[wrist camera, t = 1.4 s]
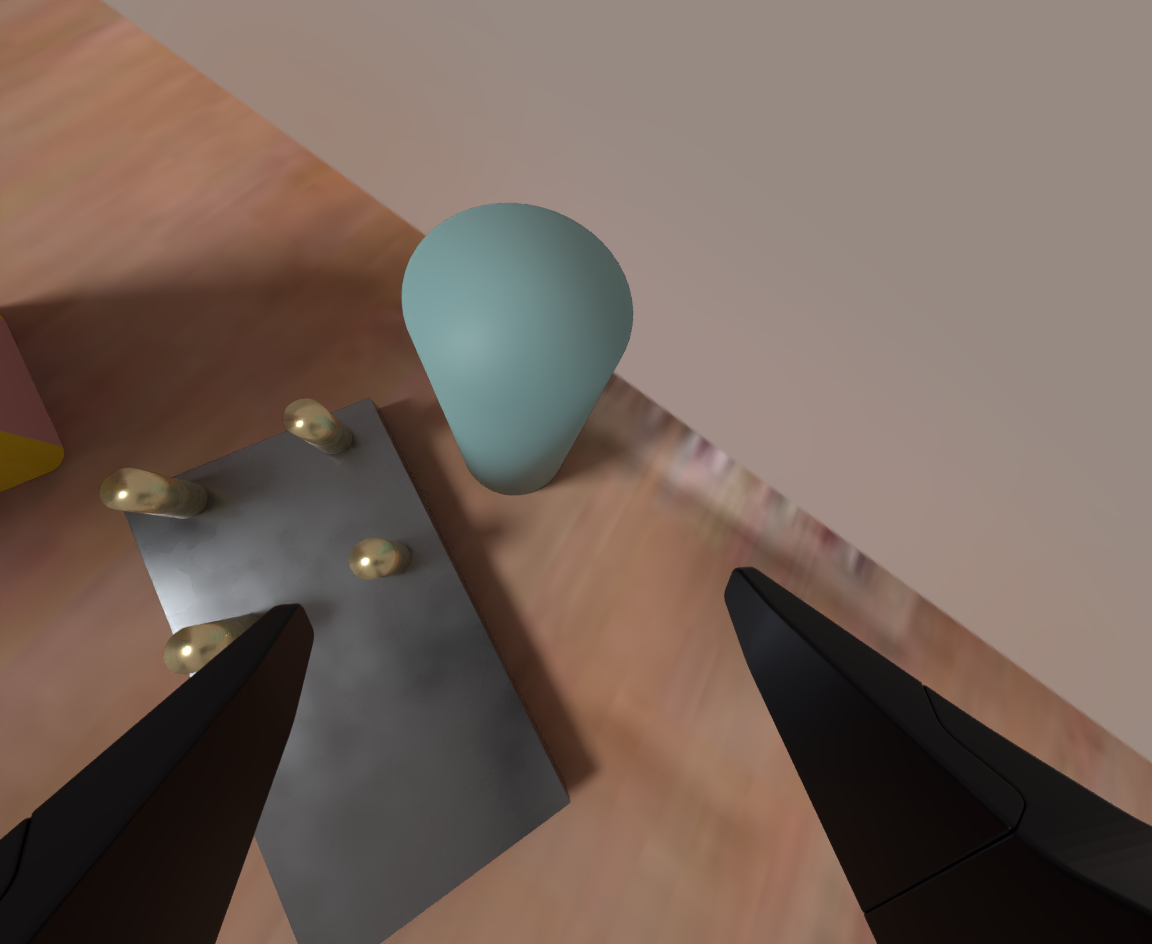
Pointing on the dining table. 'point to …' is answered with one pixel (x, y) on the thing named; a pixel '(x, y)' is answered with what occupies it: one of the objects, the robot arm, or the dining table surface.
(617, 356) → the teal rounded cylinder
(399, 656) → the plate
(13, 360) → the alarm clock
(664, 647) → the dining table surface
